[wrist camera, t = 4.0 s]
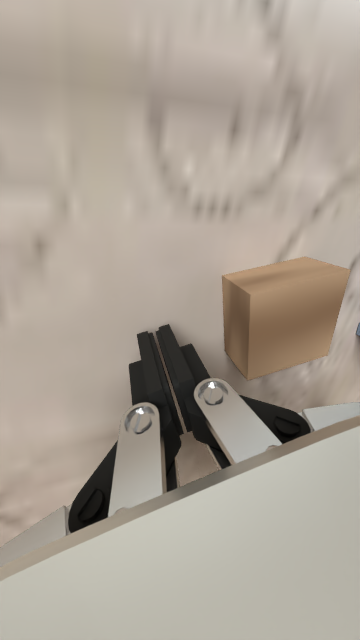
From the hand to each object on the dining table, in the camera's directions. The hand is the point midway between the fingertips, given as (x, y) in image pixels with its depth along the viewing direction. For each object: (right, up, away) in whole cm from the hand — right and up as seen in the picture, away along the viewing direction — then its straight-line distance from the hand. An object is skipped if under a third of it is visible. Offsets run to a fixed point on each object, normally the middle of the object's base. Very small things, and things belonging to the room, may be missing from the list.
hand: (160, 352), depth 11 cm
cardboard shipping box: (+6, +3, +2) cm, 7 cm away
